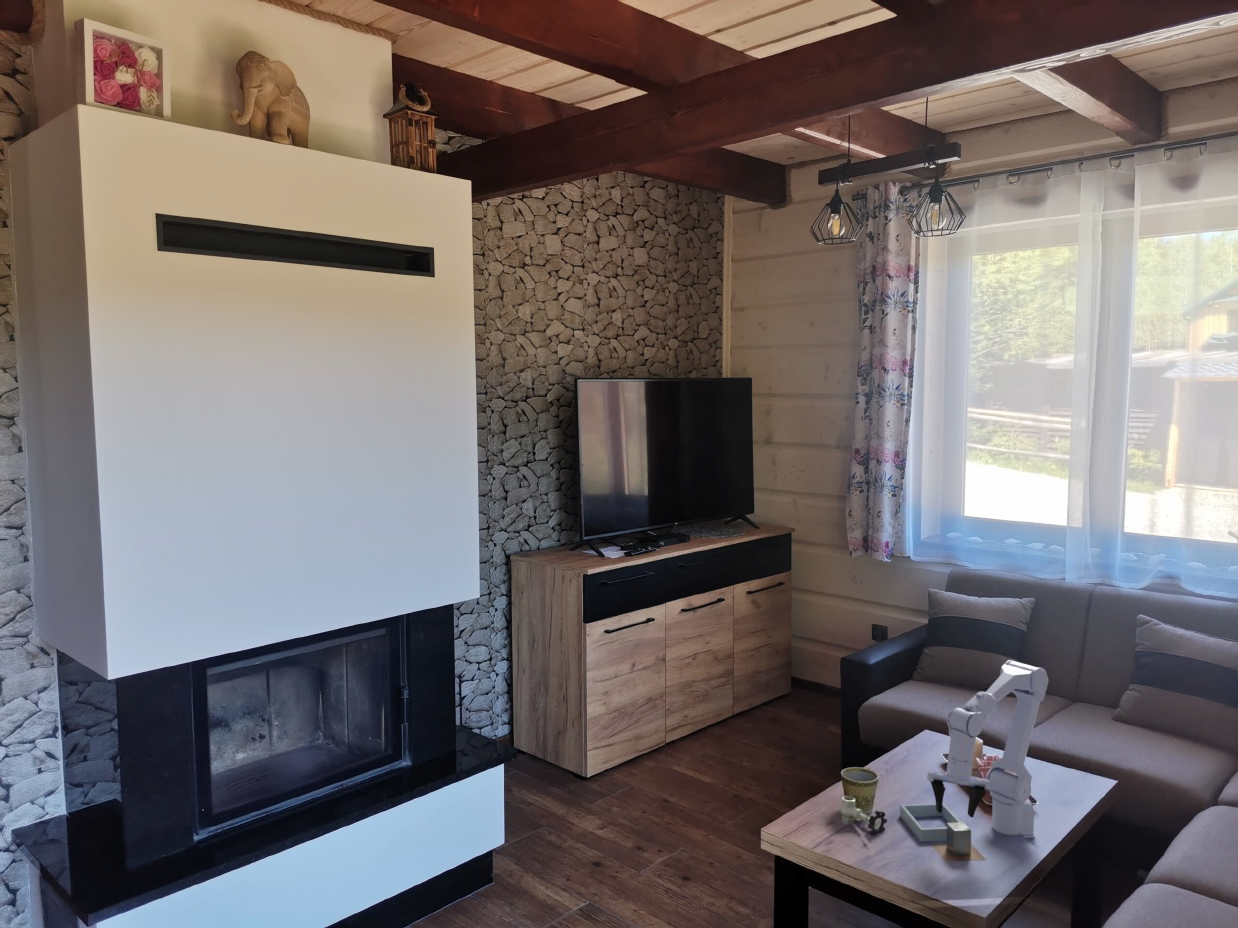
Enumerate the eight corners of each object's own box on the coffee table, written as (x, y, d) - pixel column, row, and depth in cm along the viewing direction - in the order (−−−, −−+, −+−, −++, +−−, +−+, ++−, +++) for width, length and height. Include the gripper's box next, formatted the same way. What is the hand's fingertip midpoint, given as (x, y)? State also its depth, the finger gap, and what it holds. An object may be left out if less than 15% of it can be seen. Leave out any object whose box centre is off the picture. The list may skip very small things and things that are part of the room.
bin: (943, 817, 235) (943, 803, 235) (967, 843, 221) (967, 827, 221) (899, 819, 234) (900, 804, 234) (920, 844, 220) (921, 829, 220)
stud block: (970, 846, 219) (970, 832, 219) (985, 863, 211) (986, 848, 211) (931, 848, 218) (932, 834, 218) (945, 865, 211) (945, 850, 210)
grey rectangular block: (963, 847, 217) (963, 821, 217) (970, 855, 213) (971, 830, 212) (946, 847, 217) (946, 822, 216) (954, 856, 213) (954, 830, 212)
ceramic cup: (870, 821, 233) (870, 784, 233) (834, 811, 239) (834, 775, 239) (887, 803, 244) (887, 768, 243) (853, 794, 250) (853, 760, 249)
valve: (834, 822, 233) (870, 840, 223) (834, 798, 233) (871, 815, 223) (850, 815, 237) (887, 832, 227) (850, 792, 236) (887, 808, 227)
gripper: (935, 758, 212) (929, 814, 212) (996, 767, 211) (990, 823, 210) (927, 750, 219) (921, 804, 219) (986, 758, 218) (980, 813, 217)
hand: (954, 813), depth 215 cm, fingers open, 7 cm apart
